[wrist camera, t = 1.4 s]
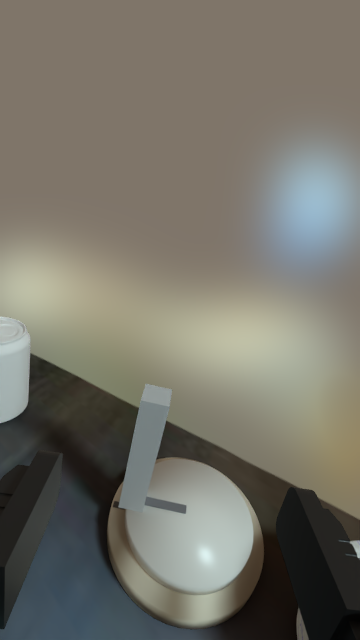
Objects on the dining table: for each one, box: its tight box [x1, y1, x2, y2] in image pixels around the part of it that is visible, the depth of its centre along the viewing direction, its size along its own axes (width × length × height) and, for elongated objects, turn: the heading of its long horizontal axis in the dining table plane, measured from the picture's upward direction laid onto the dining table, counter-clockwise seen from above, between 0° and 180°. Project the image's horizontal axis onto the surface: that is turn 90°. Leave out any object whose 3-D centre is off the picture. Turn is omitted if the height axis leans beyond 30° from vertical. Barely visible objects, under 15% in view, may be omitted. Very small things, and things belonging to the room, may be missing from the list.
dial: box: [118, 384, 253, 595], centre depth 29 cm, size 14×13×14 cm
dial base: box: [107, 457, 264, 629], centre depth 32 cm, size 16×16×2 cm
